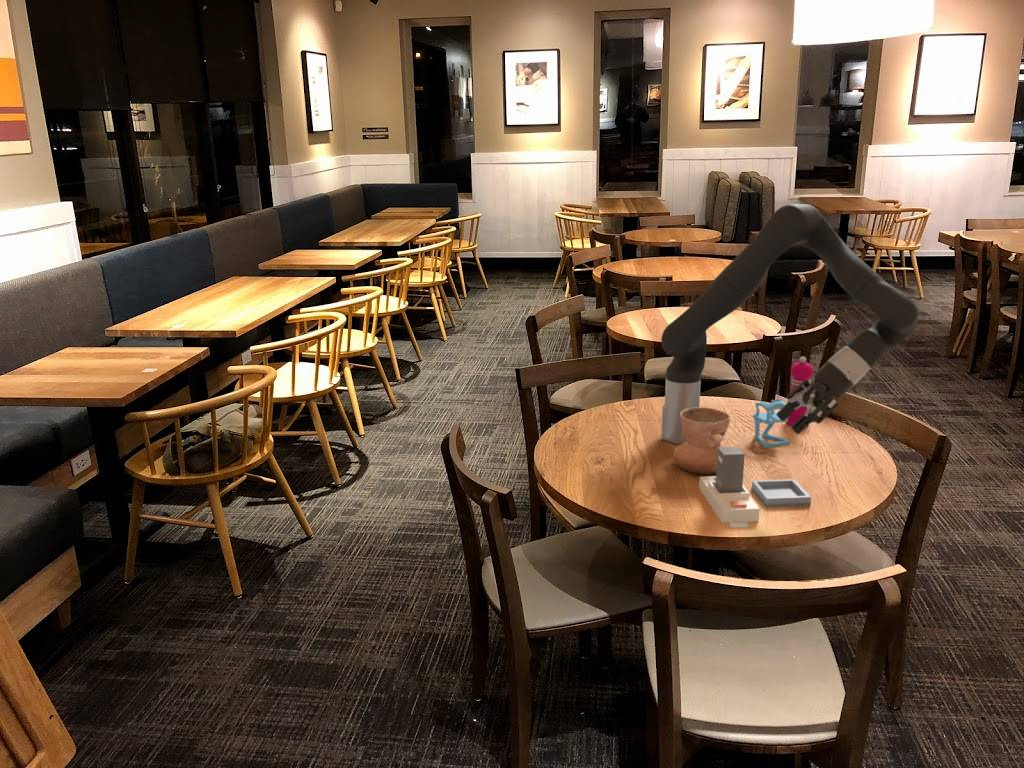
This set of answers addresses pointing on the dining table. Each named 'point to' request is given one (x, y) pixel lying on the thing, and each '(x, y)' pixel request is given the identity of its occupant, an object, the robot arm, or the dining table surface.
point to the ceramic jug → (701, 439)
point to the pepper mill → (799, 374)
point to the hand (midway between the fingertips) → (786, 424)
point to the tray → (781, 493)
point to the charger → (729, 469)
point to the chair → (769, 422)
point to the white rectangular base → (729, 502)
